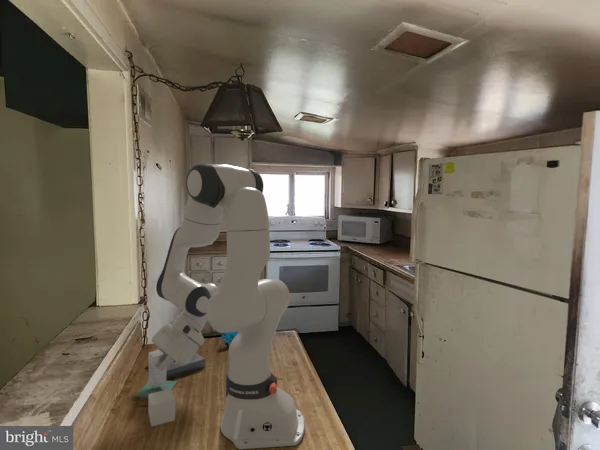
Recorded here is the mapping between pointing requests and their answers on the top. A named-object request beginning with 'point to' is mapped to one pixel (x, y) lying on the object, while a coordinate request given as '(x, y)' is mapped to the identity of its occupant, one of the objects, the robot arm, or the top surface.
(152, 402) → the plain white cube
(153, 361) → the steel bar
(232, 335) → the gear
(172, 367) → the socket block
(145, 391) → the rubber mat
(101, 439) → the top surface
